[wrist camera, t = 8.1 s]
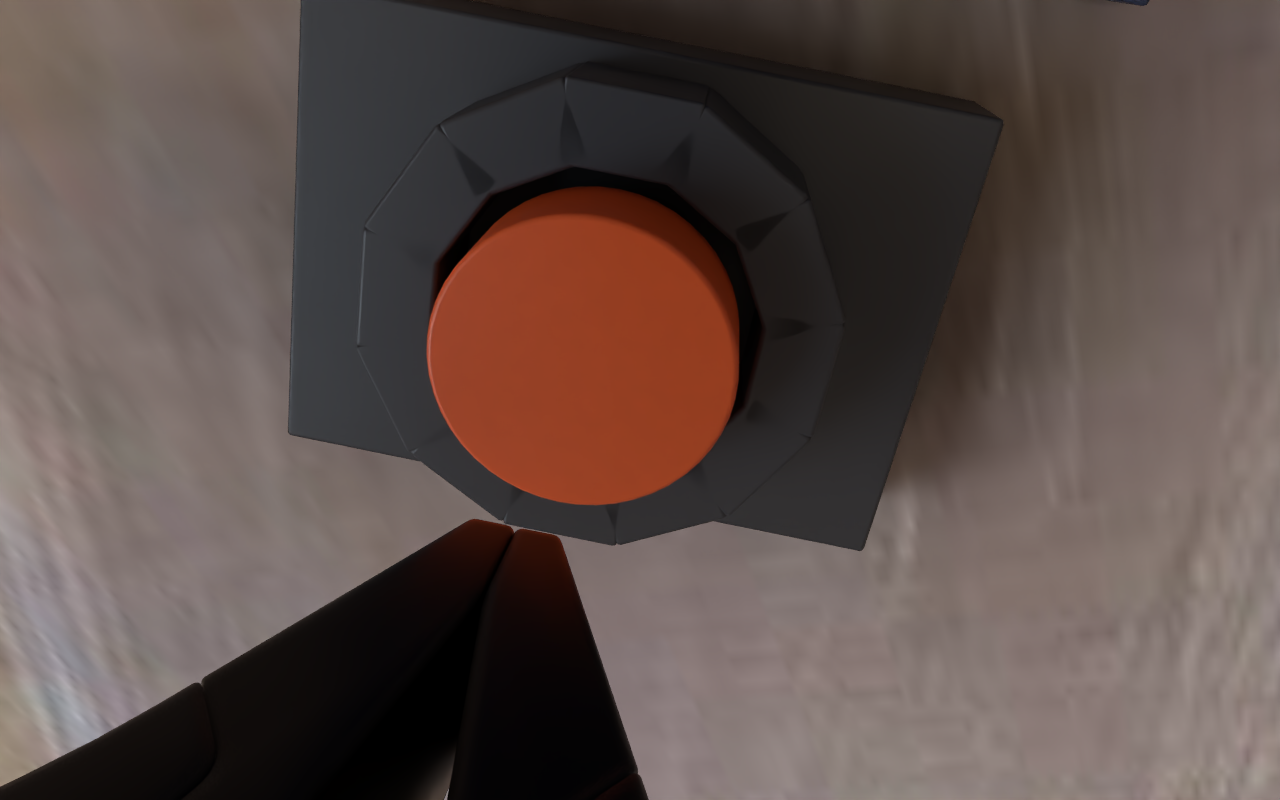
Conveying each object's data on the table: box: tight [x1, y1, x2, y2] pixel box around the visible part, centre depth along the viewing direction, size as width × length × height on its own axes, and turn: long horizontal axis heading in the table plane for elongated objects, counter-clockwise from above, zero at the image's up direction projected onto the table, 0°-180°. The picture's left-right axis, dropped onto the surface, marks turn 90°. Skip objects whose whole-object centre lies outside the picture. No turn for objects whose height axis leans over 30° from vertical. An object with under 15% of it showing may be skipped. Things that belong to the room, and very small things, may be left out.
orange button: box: [427, 186, 739, 505], centre depth 15 cm, size 4×4×2 cm
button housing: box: [288, 0, 1003, 551], centre depth 17 cm, size 11×8×4 cm
